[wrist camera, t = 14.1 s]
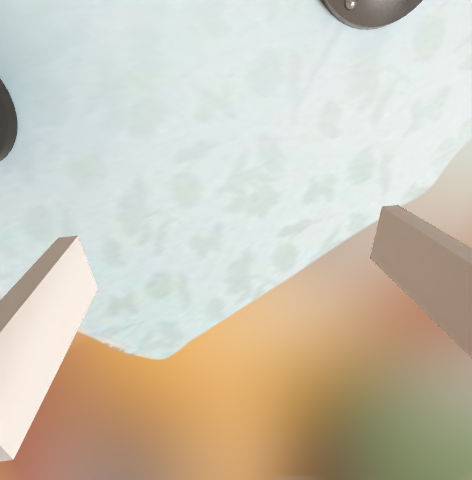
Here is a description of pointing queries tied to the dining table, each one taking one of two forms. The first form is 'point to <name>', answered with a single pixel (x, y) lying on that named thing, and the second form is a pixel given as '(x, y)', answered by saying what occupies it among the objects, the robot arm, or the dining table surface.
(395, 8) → the flange
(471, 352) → the robot arm
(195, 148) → the dining table surface
